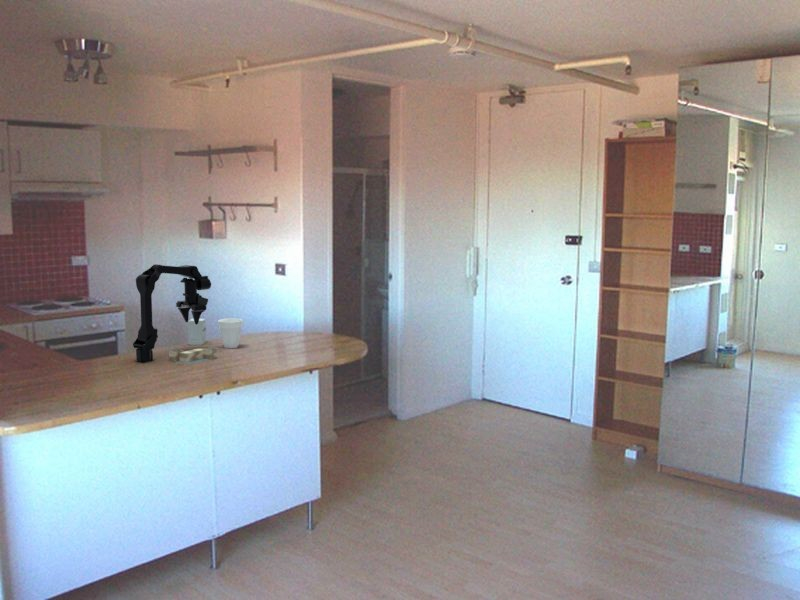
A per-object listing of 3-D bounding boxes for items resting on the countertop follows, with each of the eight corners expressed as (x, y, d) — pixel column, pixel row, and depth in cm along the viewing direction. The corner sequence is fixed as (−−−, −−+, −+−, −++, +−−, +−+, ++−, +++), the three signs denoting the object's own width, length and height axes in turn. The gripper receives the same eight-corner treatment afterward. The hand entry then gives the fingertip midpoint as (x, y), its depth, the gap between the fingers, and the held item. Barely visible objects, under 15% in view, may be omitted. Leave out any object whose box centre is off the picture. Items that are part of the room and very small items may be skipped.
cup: (216, 345, 371) (215, 319, 369) (240, 343, 376) (239, 317, 374) (221, 350, 360) (220, 322, 358) (246, 348, 365) (245, 321, 363)
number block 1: (175, 361, 333) (175, 351, 332) (169, 360, 335) (168, 350, 335) (183, 359, 337) (183, 349, 336) (176, 358, 339) (176, 348, 338)
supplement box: (202, 345, 372) (202, 320, 370) (188, 345, 372) (187, 320, 370) (206, 342, 379) (206, 318, 378) (192, 342, 380) (191, 318, 378)
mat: (189, 365, 327) (189, 364, 327) (169, 361, 335) (169, 360, 335) (218, 358, 341) (218, 357, 341) (197, 354, 349) (197, 354, 349)
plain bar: (186, 362, 332) (185, 353, 331) (179, 361, 334) (179, 352, 333) (206, 357, 342) (206, 349, 341) (199, 356, 344) (199, 348, 343)
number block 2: (210, 359, 338) (209, 349, 337) (203, 358, 340) (203, 348, 339) (217, 357, 341) (217, 347, 341) (210, 356, 344) (210, 346, 343)
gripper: (215, 291, 352) (216, 323, 354) (195, 288, 365) (196, 319, 367) (195, 293, 344) (195, 326, 346) (175, 290, 357) (176, 321, 359)
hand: (191, 323), depth 355 cm, fingers open, 9 cm apart
